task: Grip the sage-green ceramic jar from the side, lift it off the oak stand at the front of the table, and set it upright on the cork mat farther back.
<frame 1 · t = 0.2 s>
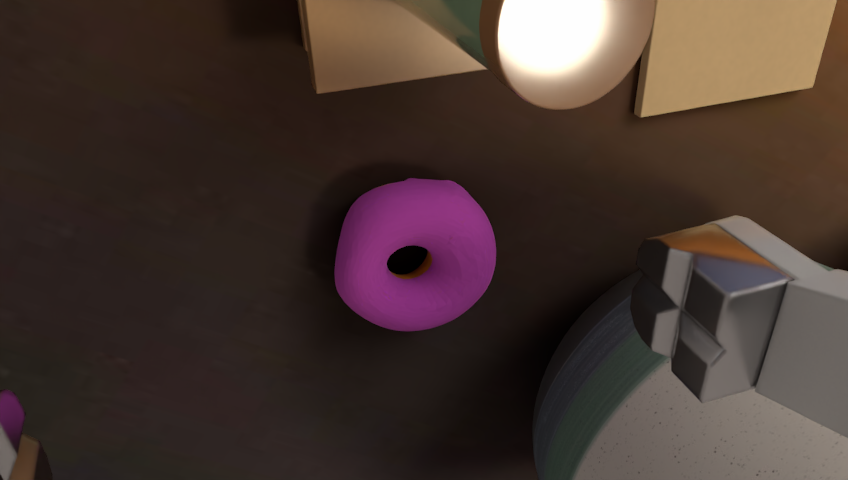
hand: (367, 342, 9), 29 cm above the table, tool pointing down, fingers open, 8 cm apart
donut: (405, 237, 44), on the table
planter: (632, 336, 56), on the table
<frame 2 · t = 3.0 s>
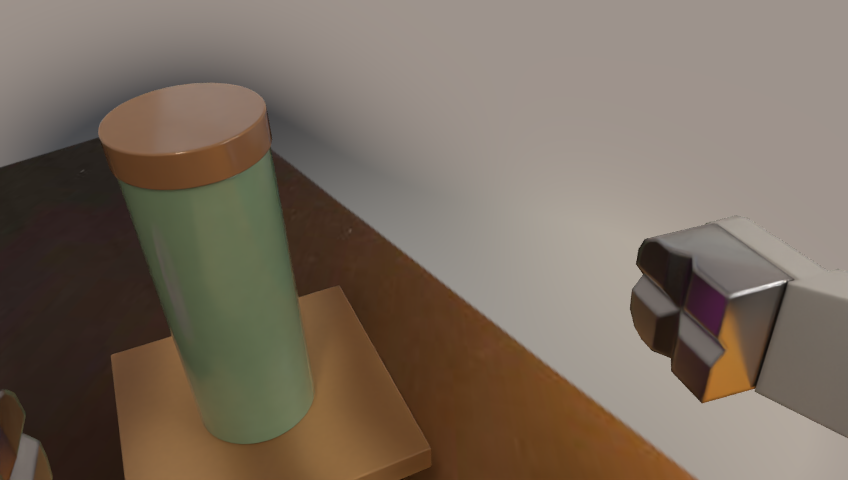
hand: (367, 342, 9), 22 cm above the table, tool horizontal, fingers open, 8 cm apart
jar: (257, 397, 29), point 6 cm above the table, touching stand
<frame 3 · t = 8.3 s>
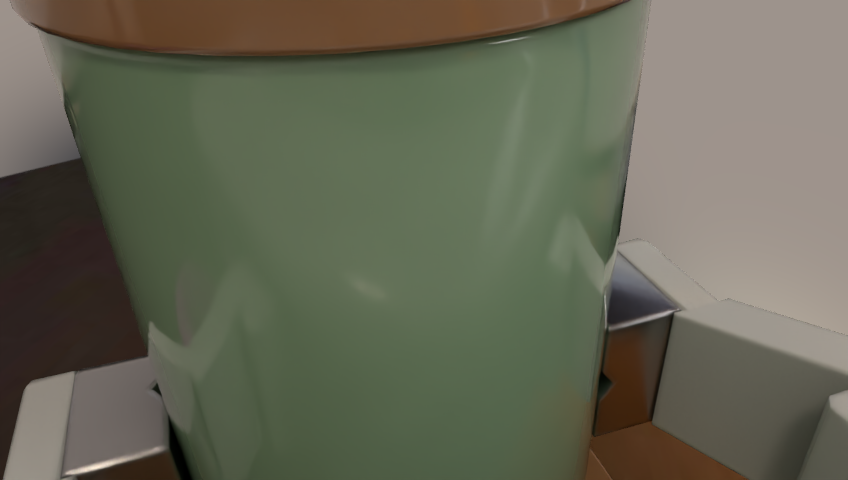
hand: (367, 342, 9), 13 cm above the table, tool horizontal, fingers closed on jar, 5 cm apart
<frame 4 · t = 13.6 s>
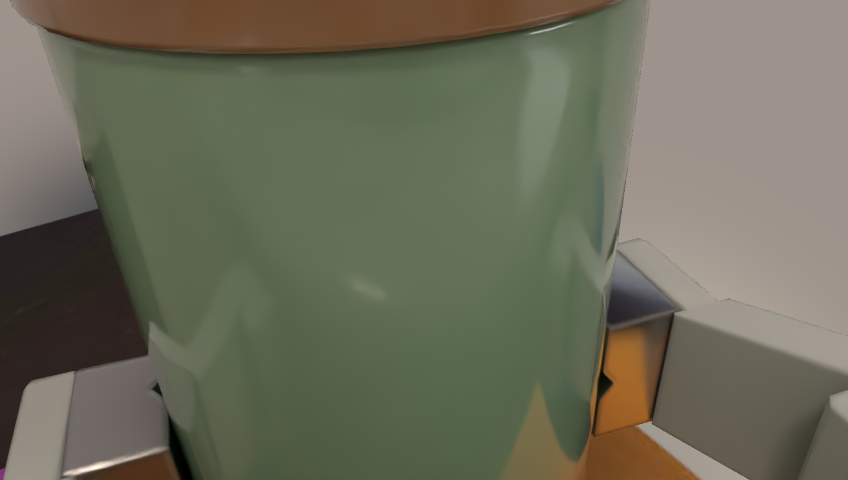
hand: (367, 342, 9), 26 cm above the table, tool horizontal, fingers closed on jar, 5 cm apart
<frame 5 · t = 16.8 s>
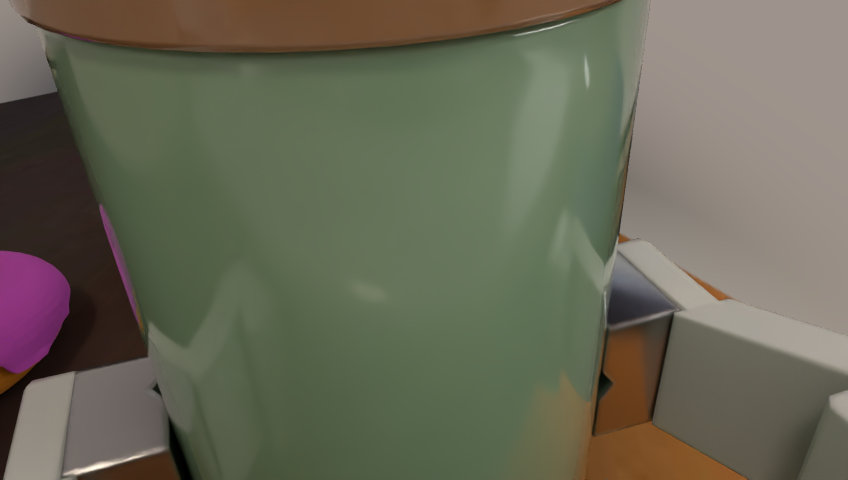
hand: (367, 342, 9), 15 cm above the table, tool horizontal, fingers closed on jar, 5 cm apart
when the fingers open (8 cm above the table, at t = 19.2 s): jar stays where it is, resting on mat.
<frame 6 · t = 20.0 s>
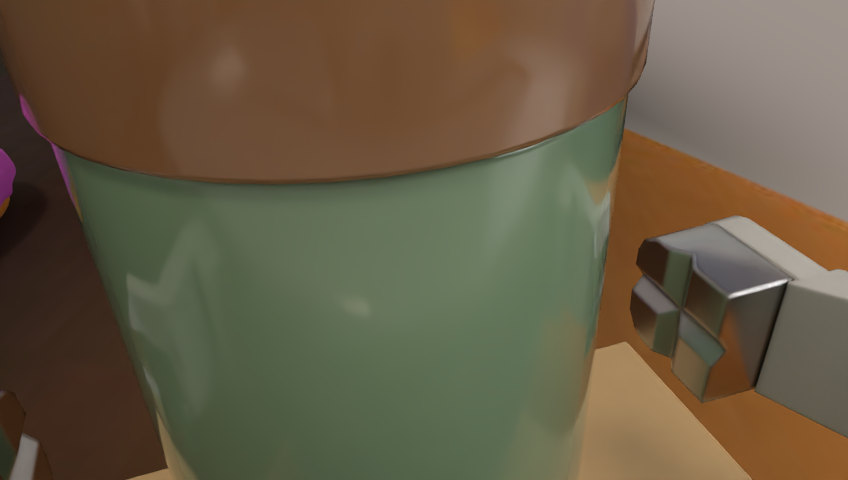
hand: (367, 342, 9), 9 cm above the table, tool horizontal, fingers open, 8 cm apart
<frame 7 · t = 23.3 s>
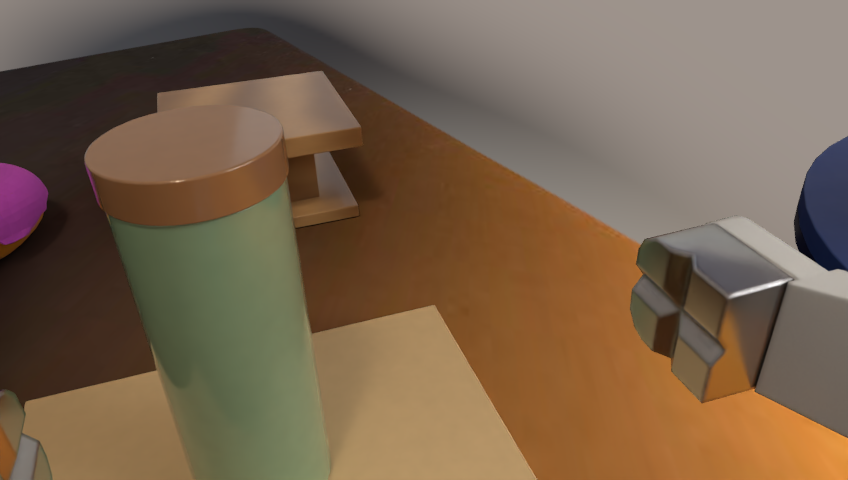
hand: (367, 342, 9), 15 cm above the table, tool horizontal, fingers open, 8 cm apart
jar: (265, 470, 25), point 1 cm above the table, touching mat
stand: (267, 195, 44), on the table
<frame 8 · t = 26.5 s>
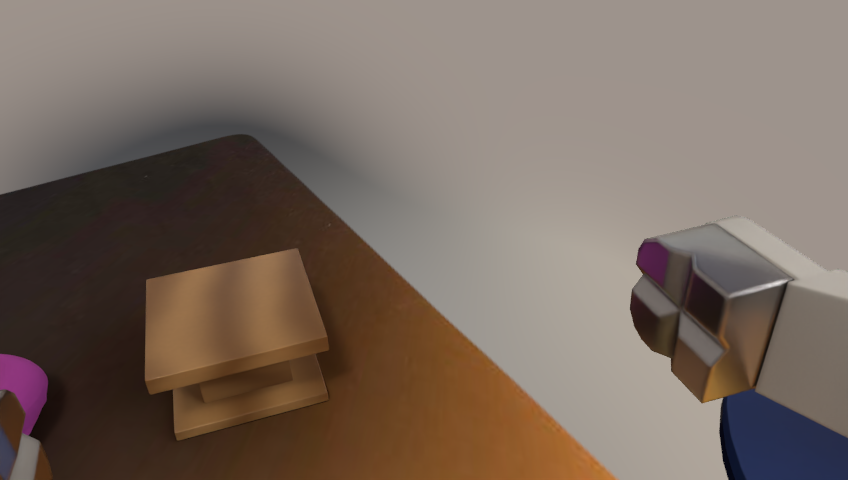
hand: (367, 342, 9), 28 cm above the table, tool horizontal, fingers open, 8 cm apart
stand: (246, 371, 49), on the table
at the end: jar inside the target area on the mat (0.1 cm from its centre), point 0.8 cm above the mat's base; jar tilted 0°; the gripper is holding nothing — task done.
